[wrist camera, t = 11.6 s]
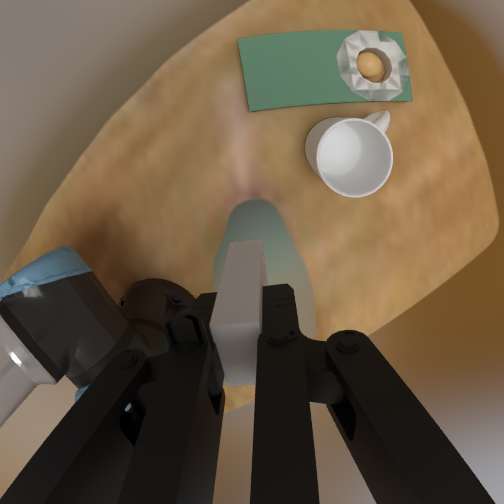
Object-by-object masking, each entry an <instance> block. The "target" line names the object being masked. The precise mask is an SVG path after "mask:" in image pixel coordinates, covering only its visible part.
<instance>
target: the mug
mask: <svg viewBox="0 0 504 504" xmlns="http://www.w3.org/2000/svg"><path fill="white" fill-rule="evenodd" d="M381 114H383V115H382V116H381V117H380V118H379V119H378V120H377V121H375V120H376V119H377V118H378V117H379V116H380V115H381ZM374 121H375V122H374ZM373 122H374V123H373ZM389 123H390V113H389V112H388V111H386V110H384V111H378V112H375V113H373V114H371V115H368V116H367V117H365V118H363V119H359V118H328V119H325V120H323V121H320V122H319V123H317V124H316V125H315V126H314V127H313V128H312V129H311V131H310V132H309V134H308V136H307V139H306V143H305V153H306V158H307V160H308V162H309V164H310V166H311V167H312V169H313V170H314V171H315V172H316V173H317V174H318V176H319V177H320V178H321V179H322V180H323V181H324V182H325V183H326V185H327V186H328V187H330V188H331V189H332V190H333V191H335V192H336V193H338V194H340V195H343V196H347V197H354V198H355V197H364V196H367V195H370V194H372V193H374V192H375V191H377V190H378V189H379V188H380V187H381V186H382V185H383V184H384V183H385V182H386V180H387V179H388V177H389V175H390V172H391V169H392V165H393V152H392V148H391V144H390V142H389V140H388V138H387V136H386V135H385V132H386V130H387V128H388V126H389Z"/></svg>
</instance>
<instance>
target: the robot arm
mask: <svg viewBox="0 0 504 504" xmlns="http://www.w3.org/2000/svg"><path fill="white" fill-rule="evenodd" d="M0 298H2V300H1V301H0V428H1V427H2V426H3V424H4V423H5V422H6V421H7V420H8V418H9V417H10V416H11V415H12V414H13V413H14V411H15V410H16V409H17V408H18V407H19V406H20V405H21V403H22V402H23V401H24V400H25V399H26V398H27V397H28V395H29V394H30V393H31V392H32V391H33V390H34V388H36V387H37V385H40V384H54V385H55V384H56V383H58V382H59V380H60V379H61V378H62V377H63V376H64V375H66V377H68V378H69V379H70V380H71V381H72V383H73V384H74V385H75V386H76V387H77V388H78V389H79V390H77V392H76V395H75V396H76V398H75V404H74V405H73V406H72V407H71V409H70V410H69V411H68V412H67V414H66V415H65V416H64V417H63V419H62V420H61V421H60V422H59V424H58V425H57V426H56V427H55V429H54V430H53V431H52V432H51V434H50V435H49V436H48V437H47V439H46V440H45V441H44V442H43V444H42V445H41V446H40V448H39V449H38V450H37V451H36V453H35V454H34V455H33V457H32V458H31V459H30V460H29V462H28V463H27V464H26V466H25V467H24V468H23V470H22V471H21V472H20V473H19V475H18V476H17V478H16V479H15V480H14V481H13V483H12V484H11V485H10V487H9V488H8V489H7V491H6V492H5V494H4V495H3V496H2V498H1V499H0V504H212V502H213V493H214V485H215V477H216V469H217V461H218V453H219V445H220V437H221V436H220V435H221V428H222V419H223V413H224V405H225V392H224V389H223V380H224V378H225V382H226V385H227V386H237V385H253V384H256V388H255V411H254V433H253V454H252V473H251V494H250V504H320V503H319V492H318V480H317V470H316V459H315V449H314V439H313V430H312V421H311V412H310V403H309V402H316V403H323V404H326V406H327V408H328V410H329V412H330V414H331V416H332V418H333V420H334V422H335V424H336V426H337V428H338V430H339V432H340V434H341V436H342V438H343V439H344V441H345V443H346V445H347V447H348V449H349V451H350V453H351V455H352V457H353V459H354V461H355V463H356V465H357V467H358V469H359V471H360V472H361V474H362V476H363V478H364V480H365V482H366V484H367V486H368V488H369V490H370V492H371V494H372V495H373V498H374V500H375V501H376V503H377V504H495V502H494V501H493V500H492V498H491V497H490V495H489V494H488V492H487V491H486V490H485V488H484V487H483V486H482V484H481V483H480V481H479V480H478V479H477V477H476V476H475V474H474V473H473V472H472V470H471V469H470V468H469V466H468V465H467V464H466V462H465V461H464V459H463V458H462V457H461V455H460V454H459V453H458V451H457V450H456V449H455V447H454V446H453V445H452V443H451V442H450V441H449V440H448V438H447V437H446V435H445V434H444V433H443V431H442V430H441V429H440V427H439V426H438V425H437V424H436V422H435V421H434V420H433V418H432V417H431V416H430V414H429V413H428V412H427V410H426V409H425V408H424V407H423V405H422V404H421V403H420V401H419V400H418V399H417V398H416V396H415V395H414V394H413V393H412V391H411V390H410V389H409V387H408V386H407V385H406V384H405V383H404V381H403V380H402V379H401V378H400V376H399V375H398V374H397V372H396V371H395V370H394V369H393V367H392V366H391V365H390V364H389V362H388V361H387V360H386V359H385V357H384V356H383V355H382V354H381V353H380V351H379V350H378V349H377V348H376V346H375V345H374V344H373V343H372V342H371V340H370V339H369V338H368V337H367V336H366V335H365V334H363V333H361V332H358V331H356V330H343V331H338V332H336V333H334V334H332V335H331V336H330V337H329V338H328V339H327V341H318V340H313V339H310V338H307V337H306V336H304V335H303V334H302V333H301V331H300V329H299V323H298V316H297V309H296V303H295V296H294V290H293V288H291V287H290V286H289V285H288V284H279V285H271V286H268V282H267V275H266V268H265V261H264V255H263V247H262V241H261V239H255V240H248V241H239V242H231V243H230V246H229V249H228V253H227V257H226V261H225V265H224V269H223V273H222V277H221V281H220V285H219V289H218V292H213V293H203V294H201V295H200V296H199V297H198V298H197V299H196V300H195V298H194V297H193V296H192V295H191V294H190V293H189V292H187V291H186V290H185V289H183V288H182V287H180V286H178V285H177V284H174V283H172V282H169V281H166V280H161V279H146V280H142V281H139V282H137V283H135V284H133V285H132V286H131V287H130V288H129V289H128V290H127V291H126V292H125V294H124V295H123V297H122V298H121V300H120V303H119V306H118V305H117V304H116V302H115V301H114V300H113V299H112V297H111V296H110V295H109V293H108V292H107V291H106V290H105V288H104V287H103V285H102V284H101V283H100V281H99V280H98V279H97V277H96V276H95V274H94V273H93V269H92V268H90V267H89V266H88V265H87V264H86V263H85V261H84V260H83V259H82V258H81V256H80V255H79V254H78V252H77V251H76V250H75V249H74V248H72V247H69V246H61V247H58V248H56V249H54V250H52V251H50V252H48V253H46V254H45V255H43V256H41V257H40V258H38V259H36V260H35V261H33V262H31V263H30V264H28V265H27V266H25V267H24V268H22V269H21V270H19V271H18V272H16V273H15V274H14V275H13V276H11V277H10V278H9V279H7V280H5V281H4V282H3V283H2V284H1V285H0Z"/></svg>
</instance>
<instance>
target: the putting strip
mask: <svg viewBox="0 0 504 504" xmlns="http://www.w3.org/2000/svg"><path fill="white" fill-rule="evenodd" d="M238 44H239V50H240V56H241V62H242V68H243V74H244V80H245V86H246V93H247V99H248V105H249V111H250V112H253V111H260V110H268V109H276V108H284V107H294V106H304V105H316V104H330V103H348V102H408V101H413V99H412V91H411V83H410V76H409V69H408V63H407V57H406V51H405V46H404V40H403V35H402V33H398V32H384V31H360V30H329V31H305V32H290V33H279V34H269V35H261V36H253V37H246V38H239V39H238ZM360 51H371V52H373V53H375V54H377V55H379V56H380V58H381V59H382V61H383V62H384V64H385V70H386V73H385V76H384V78H383V80H382V81H380V82H379V83H372V82H370V81H368V80H366V79H364V78H363V77H362V75H361V74H360V73H359V71H358V70H357V64H356V59H357V56H358V54H359V52H360Z"/></svg>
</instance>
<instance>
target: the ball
mask: <svg viewBox="0 0 504 504" xmlns="http://www.w3.org/2000/svg"><path fill="white" fill-rule="evenodd" d="M356 64H357V70H358V71H359V73H360V74H361V75H362V76H364V77H368V78H370V77H375V76H377V75H378V74H379V73H380V71H381V67H382V65H381V61H380V59H379V58H378V57H377V56H376V55H375V54H373V53H370V52H364V53H361V54H359V55H358V56H357V59H356Z"/></svg>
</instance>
